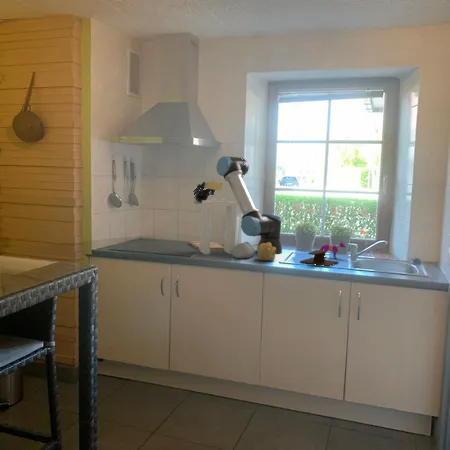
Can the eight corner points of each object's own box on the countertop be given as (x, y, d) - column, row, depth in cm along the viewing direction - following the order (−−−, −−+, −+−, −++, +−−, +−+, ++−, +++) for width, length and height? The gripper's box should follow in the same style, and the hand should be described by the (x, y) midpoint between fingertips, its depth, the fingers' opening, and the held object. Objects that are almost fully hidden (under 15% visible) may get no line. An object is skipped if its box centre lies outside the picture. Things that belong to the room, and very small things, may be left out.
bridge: (234, 253, 277) (236, 199, 274) (204, 254, 271) (206, 198, 268) (228, 251, 286) (231, 198, 283) (199, 251, 281) (202, 197, 277)
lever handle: (297, 250, 255) (312, 247, 272) (296, 264, 256) (311, 259, 272) (326, 255, 246) (340, 250, 262) (325, 269, 247) (339, 263, 263)
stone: (272, 263, 254) (273, 244, 253) (253, 261, 257) (254, 242, 256) (277, 259, 266) (278, 241, 265) (259, 257, 269) (260, 239, 268)
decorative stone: (249, 255, 257) (241, 239, 259) (234, 264, 261) (226, 248, 263) (260, 254, 273) (252, 238, 275) (246, 262, 277) (238, 247, 279)
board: (225, 250, 289) (225, 247, 289) (200, 250, 284) (200, 247, 283) (212, 243, 313) (213, 241, 313) (189, 243, 308) (189, 241, 308)
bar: (221, 190, 277) (221, 183, 276) (214, 189, 275) (215, 182, 275) (210, 188, 297) (210, 181, 297) (204, 187, 296) (204, 181, 295)
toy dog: (344, 259, 275) (345, 242, 274) (313, 256, 283) (314, 238, 282) (345, 258, 279) (346, 241, 278) (315, 255, 286) (316, 238, 285)
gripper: (213, 203, 311) (224, 186, 291) (188, 202, 306) (197, 185, 286) (212, 193, 314) (223, 176, 294) (187, 192, 309) (196, 174, 288)
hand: (210, 180), depth 290 cm, fingers closed on bar, 4 cm apart
